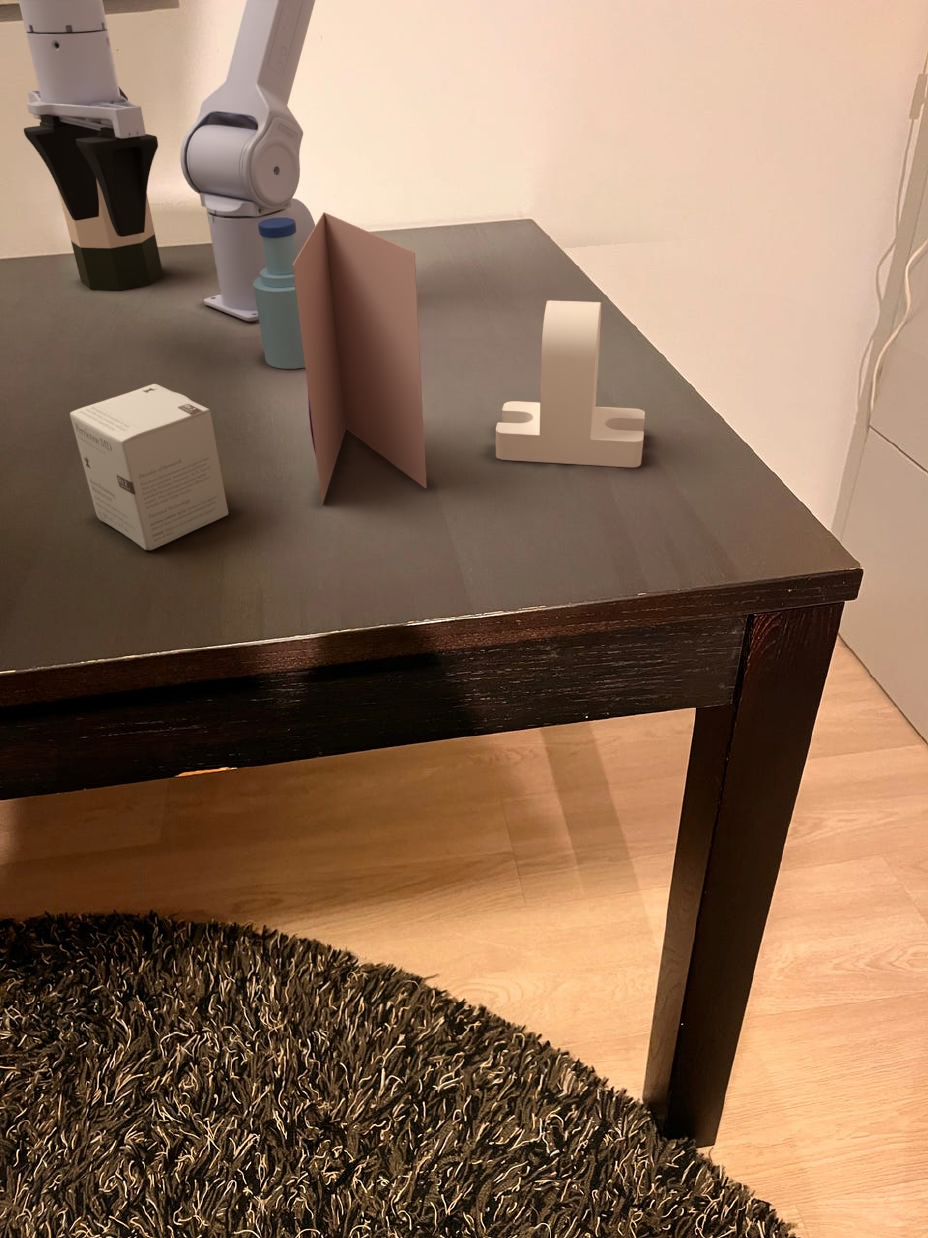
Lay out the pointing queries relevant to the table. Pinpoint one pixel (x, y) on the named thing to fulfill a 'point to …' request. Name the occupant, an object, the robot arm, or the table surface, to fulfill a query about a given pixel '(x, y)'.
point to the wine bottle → (113, 250)
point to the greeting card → (360, 345)
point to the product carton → (151, 464)
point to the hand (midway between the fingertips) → (107, 225)
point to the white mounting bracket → (570, 401)
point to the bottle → (279, 295)
